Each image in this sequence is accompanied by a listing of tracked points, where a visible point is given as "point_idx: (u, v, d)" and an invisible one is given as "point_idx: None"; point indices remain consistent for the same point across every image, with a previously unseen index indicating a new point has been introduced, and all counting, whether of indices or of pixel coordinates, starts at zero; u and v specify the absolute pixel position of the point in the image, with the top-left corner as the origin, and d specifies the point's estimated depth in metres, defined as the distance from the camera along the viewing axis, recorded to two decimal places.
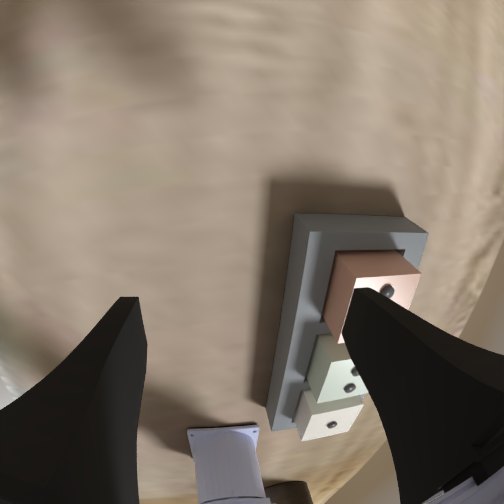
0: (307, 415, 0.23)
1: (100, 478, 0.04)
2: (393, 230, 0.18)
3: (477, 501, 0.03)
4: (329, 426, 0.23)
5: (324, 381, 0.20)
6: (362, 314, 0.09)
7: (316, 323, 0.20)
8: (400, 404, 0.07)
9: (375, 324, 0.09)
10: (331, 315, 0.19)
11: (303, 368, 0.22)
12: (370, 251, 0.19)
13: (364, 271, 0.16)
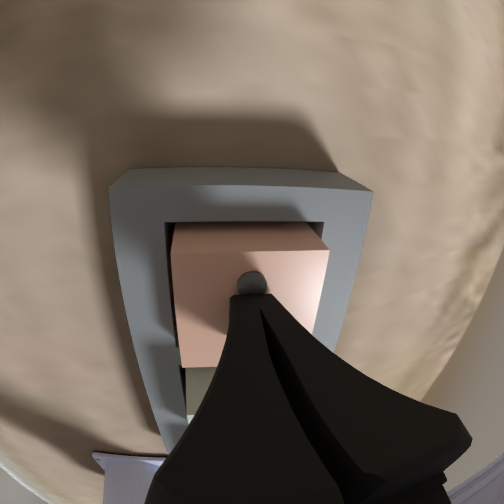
0: None
1: None
2: (291, 184, 0.10)
3: (477, 501, 0.03)
4: None
5: None
6: None
7: (171, 348, 0.12)
8: None
9: None
10: None
11: (180, 408, 0.14)
12: None
13: (199, 243, 0.09)
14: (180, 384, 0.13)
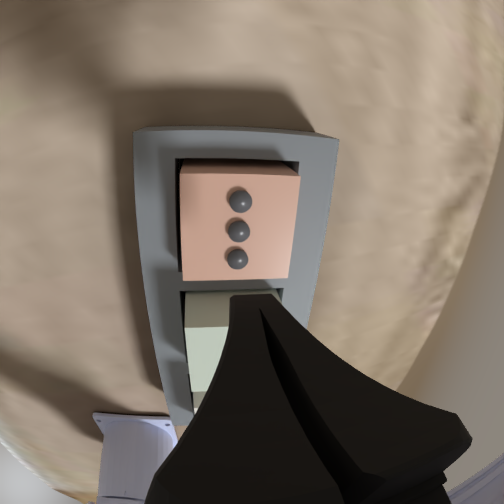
0: None
1: None
2: (273, 132, 0.13)
3: (477, 501, 0.03)
4: None
5: None
6: None
7: (173, 272, 0.15)
8: None
9: None
10: None
11: (178, 341, 0.17)
12: (238, 160, 0.14)
13: (201, 170, 0.12)
14: (180, 312, 0.16)
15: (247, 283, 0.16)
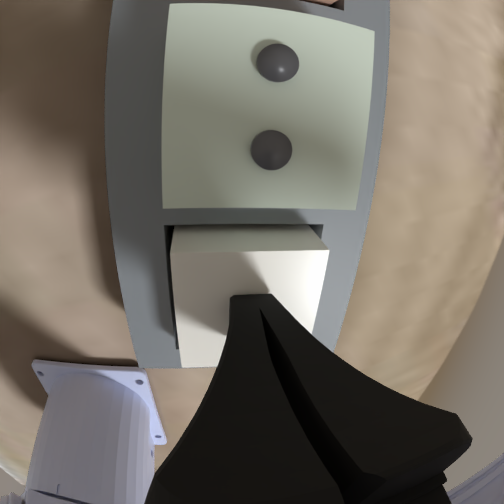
0: None
1: None
2: None
3: (477, 501, 0.03)
4: None
5: (163, 88, 0.06)
6: None
7: None
8: None
9: None
10: None
11: (151, 133, 0.08)
12: None
13: None
14: (163, 63, 0.07)
15: None
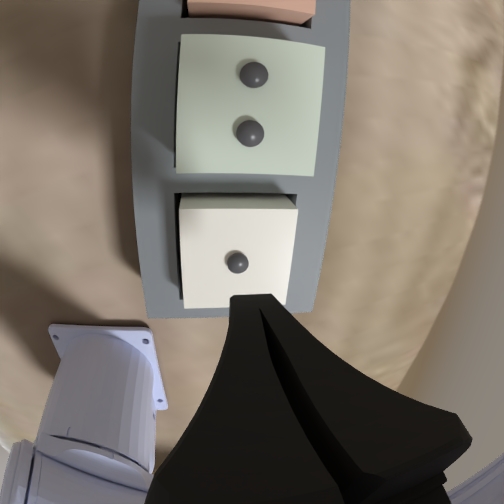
0: None
1: None
2: None
3: (477, 501, 0.03)
4: (231, 264, 0.13)
5: None
6: None
7: (175, 18, 0.09)
8: None
9: None
10: None
11: (166, 124, 0.11)
12: None
13: None
14: (174, 73, 0.10)
15: (264, 37, 0.10)
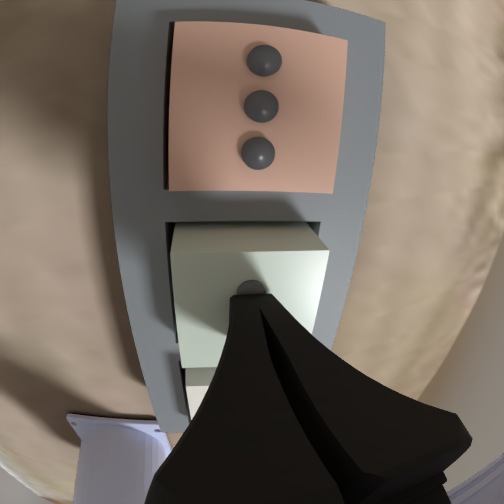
0: None
1: None
2: (302, 2, 0.07)
3: (477, 501, 0.03)
4: None
5: (175, 310, 0.09)
6: None
7: (157, 190, 0.09)
8: None
9: None
10: None
11: (164, 308, 0.11)
12: None
13: None
14: (166, 259, 0.10)
15: (268, 211, 0.10)
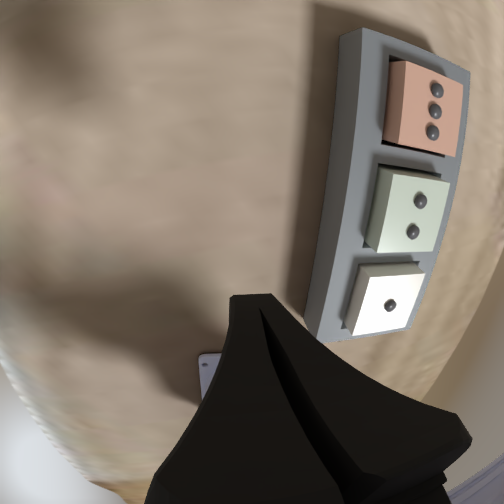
0: (361, 285, 0.19)
1: None
2: (438, 57, 0.13)
3: (477, 501, 0.03)
4: (387, 307, 0.19)
5: (386, 209, 0.16)
6: None
7: (377, 144, 0.15)
8: None
9: None
10: (384, 123, 0.15)
11: (363, 220, 0.17)
12: None
13: None
14: (373, 186, 0.16)
15: (422, 164, 0.16)
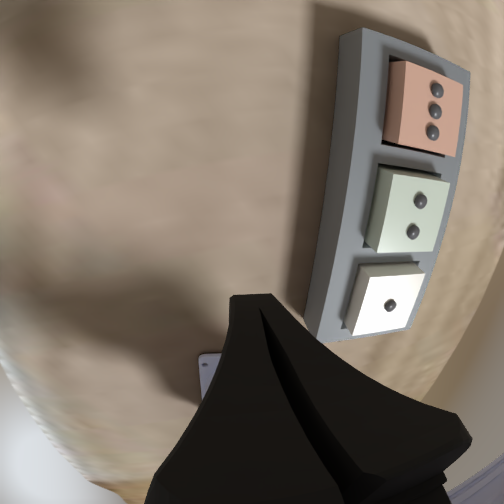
0: (361, 285, 0.19)
1: None
2: (438, 57, 0.13)
3: (477, 501, 0.03)
4: (387, 307, 0.19)
5: (386, 209, 0.16)
6: None
7: (377, 144, 0.15)
8: None
9: None
10: (384, 123, 0.15)
11: (363, 220, 0.17)
12: None
13: None
14: (373, 186, 0.16)
15: (422, 164, 0.16)
